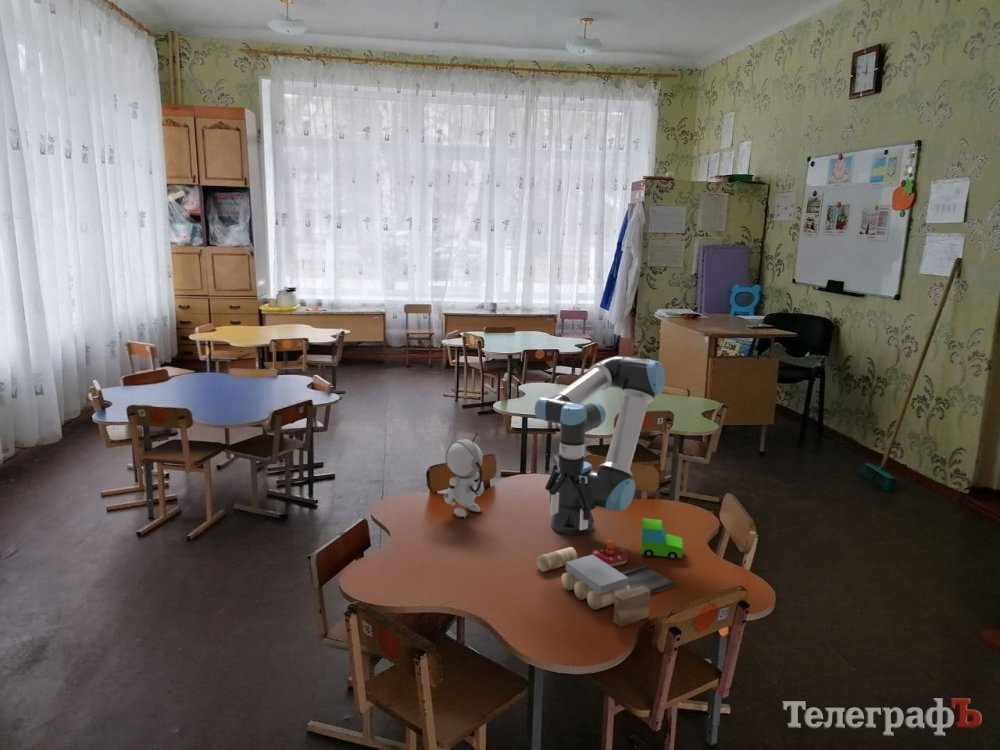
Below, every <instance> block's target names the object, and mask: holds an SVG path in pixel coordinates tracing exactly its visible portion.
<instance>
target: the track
mask: <svg viewBox="0 0 1000 750" xmlns="http://www.w3.org/2000/svg"><path fill="white" fill-rule="evenodd" d="M621 573H622V574H624V575H625V576H627V577H628V586H625V587H622V588H619V589H616V590H613V591H610V592H607V593H604V594H601V595H600V594H599V593H597V592H596V591H594V590H593V589H592V588H590V587H589V586H587V585H586V584H585V583H583V582H582V581H580V580H579V579H578V578H576V577H575V576H573V575H572V574H571V573H569V572H568V571H566V572H564V573H562V575H561V584H562V586H563V588H564V589H565V590H567V591H571V590H573V592H574V594H575V596H576V598H577V599H579V600H581V601H583V600H585V599H586V601H587V604H588V606H589V607H590V608H591V609H592V610H593V611H595V610H599V609H602V608H605V607H607V606H611V605H614V607H613V608H614V609H613V623H614V624H616V625H617V626H618V627H620V628H622V627H625V626H628V625H631V624H633V623H636V622H639V621H641V619H642V620H644V619H647V618H650V617H649V613H650V601H651V595H654V594H656V592H657V593H659V592H658V591H660V592H662V591H665V590H668V589H671V588H673V587H676V586H677V584H676V581H675V580H673V579H671V580H669V579H668V578H667V577H664V576H663V575H661V574H660V573H659V572H656V571H655V570H653V569H651V568H650V564H644V565H641V566H638V567H635V568H633V569H629V570H625V571H623V572H621ZM653 593H654V594H653ZM650 594H651V595H650Z"/></svg>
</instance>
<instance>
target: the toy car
mask: <svg viewBox="0 0 1000 750" xmlns="http://www.w3.org/2000/svg"><path fill="white" fill-rule="evenodd" d="M641 527H642V528H641V539H640V540H641V541H640V554H641V555H643V556H644V557H645V558H649V559H650V558H652V557H653V556H657V557H667V558H668V559H669V560H670V561H675V560H677V559H679V558H680V559H682V558H683V554H684V550H685V549H684V540H683V538H682V537H681V536H677V535H673V534H669V533H667V531H666V528H665V527H664V522H663V520H662V519H653V518H646V517H645V518H642V526H641Z"/></svg>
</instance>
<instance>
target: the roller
mask: <svg viewBox="0 0 1000 750" xmlns="http://www.w3.org/2000/svg"><path fill="white" fill-rule="evenodd" d="M575 559H578V554H577V551H576V550H575V548H574V547H572V546H570V547H565V548H563V549H562V548H561V549H559V550H555V551H551V552H548V553H544V554H541V555H538V556H537V558H536V564H537V565H536V566H537V568H538V569H539V571H541V572H542V573H543V572H544V573H545V572H548V571H552V570H554V569H558V568H561V567H566V562H568V561H572V560H575Z"/></svg>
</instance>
